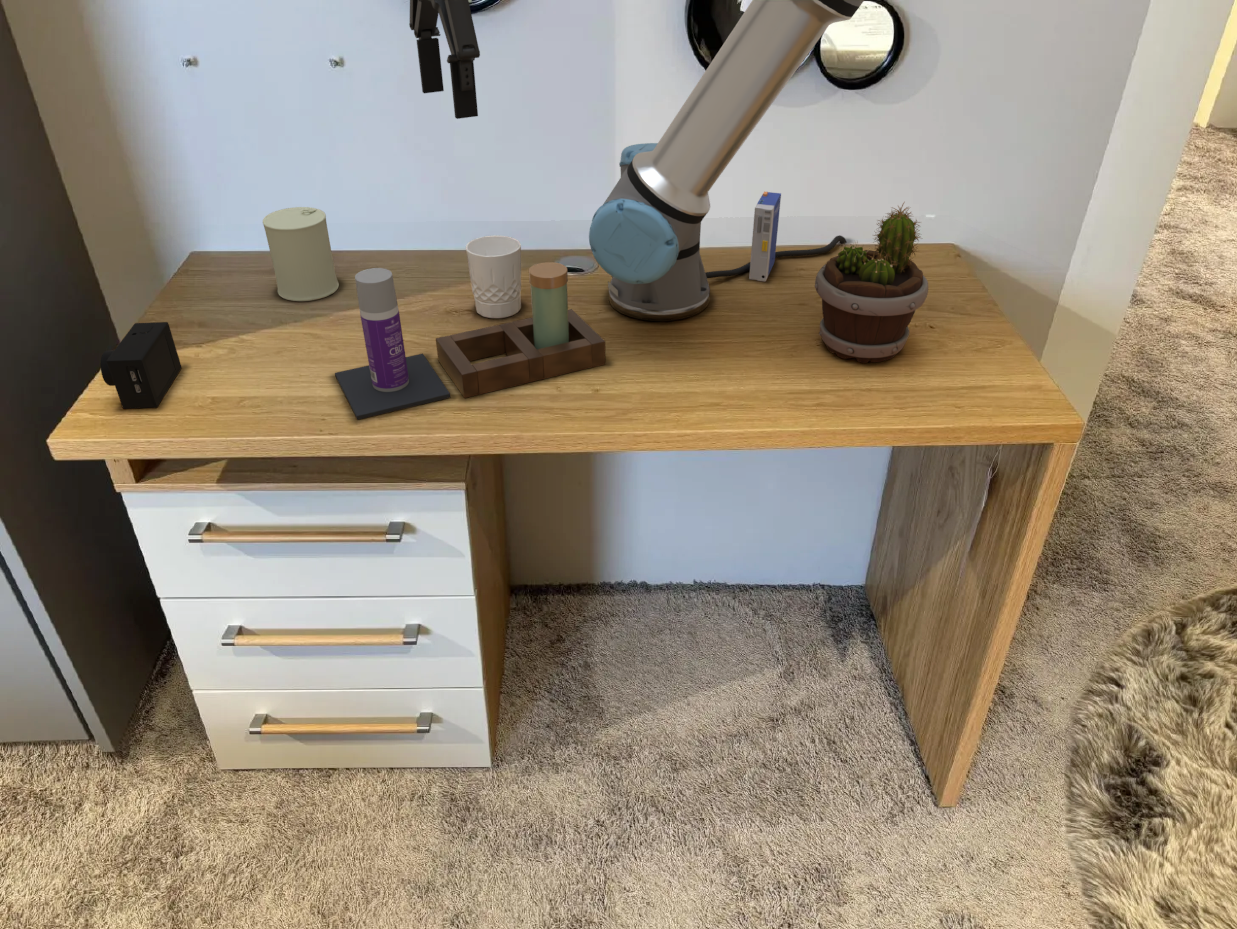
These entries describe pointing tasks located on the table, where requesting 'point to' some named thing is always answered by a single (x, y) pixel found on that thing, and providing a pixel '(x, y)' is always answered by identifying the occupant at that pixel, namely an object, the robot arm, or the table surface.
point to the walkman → (764, 236)
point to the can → (301, 253)
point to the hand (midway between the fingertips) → (449, 103)
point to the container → (382, 329)
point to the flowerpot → (872, 293)
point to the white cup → (495, 275)
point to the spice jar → (549, 304)
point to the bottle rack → (516, 355)
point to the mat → (375, 402)
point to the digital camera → (142, 365)
